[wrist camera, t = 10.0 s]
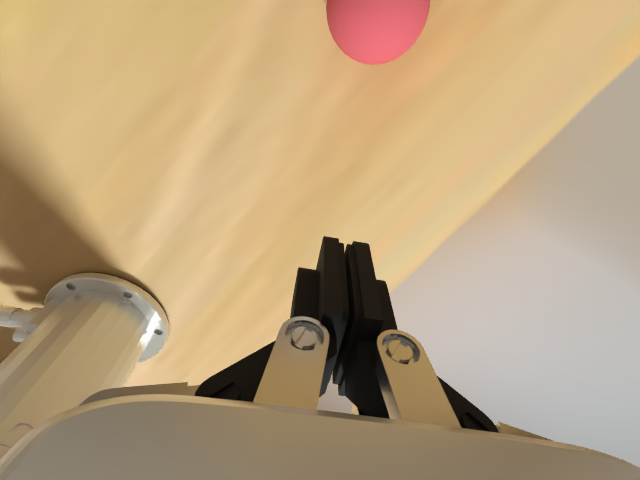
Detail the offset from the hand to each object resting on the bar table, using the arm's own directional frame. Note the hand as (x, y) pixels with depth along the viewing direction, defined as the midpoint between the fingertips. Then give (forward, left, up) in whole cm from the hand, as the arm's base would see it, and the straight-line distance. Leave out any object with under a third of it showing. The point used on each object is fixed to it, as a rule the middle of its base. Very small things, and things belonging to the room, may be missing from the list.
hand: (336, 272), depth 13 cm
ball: (+1, +9, -14) cm, 17 cm away
